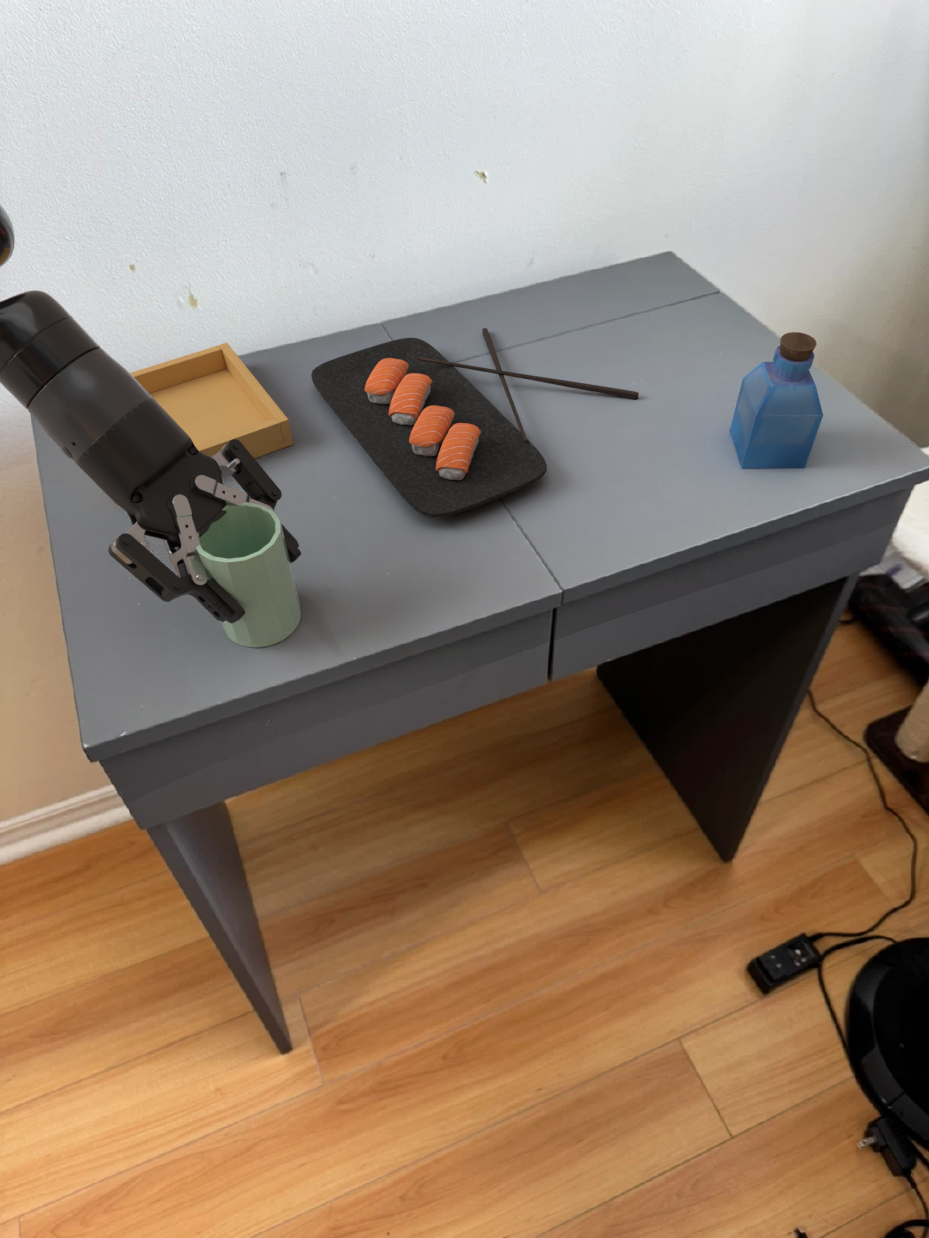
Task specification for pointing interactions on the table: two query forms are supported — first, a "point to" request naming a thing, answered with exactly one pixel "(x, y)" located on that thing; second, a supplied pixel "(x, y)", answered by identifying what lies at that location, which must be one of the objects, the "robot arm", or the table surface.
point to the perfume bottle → (778, 408)
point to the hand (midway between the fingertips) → (267, 587)
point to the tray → (217, 401)
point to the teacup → (253, 573)
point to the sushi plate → (434, 424)
